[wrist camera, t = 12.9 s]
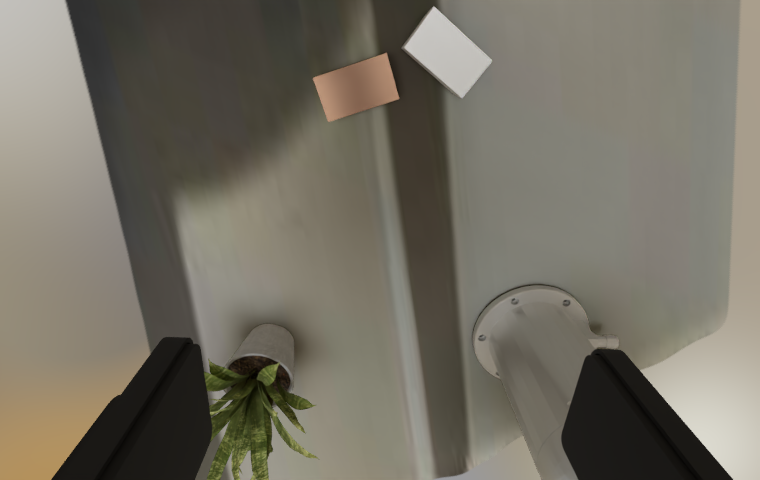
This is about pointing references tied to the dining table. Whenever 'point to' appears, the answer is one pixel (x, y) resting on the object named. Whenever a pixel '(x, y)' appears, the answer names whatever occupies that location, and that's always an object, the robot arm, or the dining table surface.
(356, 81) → the cherry brick
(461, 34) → the grey brick
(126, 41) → the dining table surface
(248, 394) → the house plant
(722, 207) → the dining table surface
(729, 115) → the dining table surface
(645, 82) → the dining table surface
